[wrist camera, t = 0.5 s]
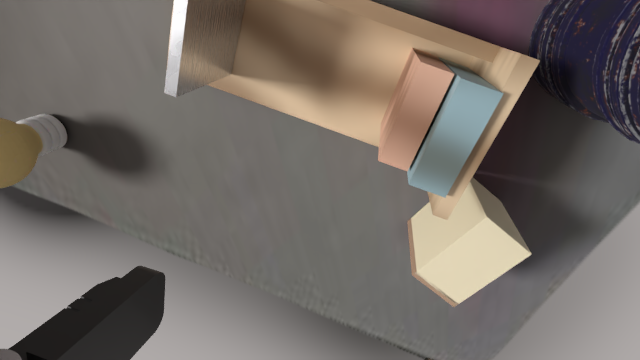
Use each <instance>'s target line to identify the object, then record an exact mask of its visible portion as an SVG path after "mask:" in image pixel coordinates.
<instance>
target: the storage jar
mask: <svg viewBox="0 0 640 360" xmlns="http://www.w3.org/2000/svg"><path fill="white" fill-rule="evenodd" d="M529 57H532V58H535V59H538V60H540V62H539V64H538V66H537V67H536V69H535V71H534V72H533V74H534V77H535V79H536V80H537V82H538V83H539V85H540V86H541V87H542V88H543V89H544V90H545V91H546V92H547V93H549V94H551V95H552V96H554V97H555V98H557V99H558V100H559V101H561V102H562V103H564V104H565V105H567V106H568V107H570V108H572V109H574V110H576V111H578V112H579V113H581V114H582V115H584V116H587V117H589V118H591V119H595V120H599V121H603V122H608V123H610V124H611V125H612V126H613V127H614V128H615V129H616V130H617V131H618V132H619V133H620V134H622V135H623V136H625V137H626V138H628V139H629V140H631V141H633V142H635V143H638V144H640V0H550V1H549V2H548V4H547V5H546V6H545V7H544V9H543V11H542V12H541V14H540V16H539V17H538V19H537V22H536V24H535V26H534V28H533V32H532V35H531V39H530V46H529Z"/></svg>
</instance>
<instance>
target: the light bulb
mask: <svg viewBox="0 0 640 360" xmlns="http://www.w3.org/2000/svg"><path fill="white" fill-rule="evenodd" d="M66 142H67V133H66V129H65V127H64V126H63V124H62V123H61V122H60V121H59V120H58V119H56V118H55V117H53V116H51V115H48V114H40V115H37V116H34V117H30V118H27V119H23V120H20V121H17V122H16V123H15V122H12V121H9V120H6V119H2V118H0V188H4V187H8V186H11V185H13V184H16V183H18V182H19V181H21V180H23V179H24V178H25V177H26V176H27V175H28V174H29V173H30V172H31V171H32V169H33V167H34V166H35V163H36V161H37V158H38V156H42V155H45V154H47V153H49V152H52V151H54V150H56V149H59V148H61V147H63V146H64V145H65V144H66Z"/></svg>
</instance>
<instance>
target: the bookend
mask: <svg viewBox="0 0 640 360" xmlns="http://www.w3.org/2000/svg"><path fill="white" fill-rule="evenodd" d="M244 6H245V0H174V6H173V16H172V25H171V35H170V44H169V54H168V63H167V73H166V82H165V92H164V93H166V94H169V95H172V96H175V97H177V96H180V95H182V94H185V93H187V92H190V91H192V90H195V89H197V88H199V87H202V86H204V85H207V84H209V83H212V82H214V81H217V80H219V79H221V78H224V77H226V76H229V75H231V74H232V69H233V63H234V58H235V53H236V48H237V42H238V37H239V32H240V27H241V21H242V16H243V11H244Z"/></svg>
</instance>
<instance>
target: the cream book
mask: <svg viewBox="0 0 640 360" xmlns="http://www.w3.org/2000/svg"><path fill="white" fill-rule="evenodd" d="M407 222H408V234H409V245H410V257H411V268H412V275H413V276H414V277H415V278H417V279H418V280H419V281H421V282H422V283H423V284H424V285H426V286H427V287H428V288H430V289H431V290H432V291H434V292H435V293H436V294H437V295H439V296H440V297H441V298H443V299H444V300H445V301H447V302H448V303H449V304H450V305H452V306H453V307H455V306H456V305H458V304H459V303H461V302H462V301H464V300H465V299H467V298H468V297H470V296H471V295H473V294H474V293H475V292H477V291H478V290H480V289H481V288H483V287H484V286H486V285H487V284H489V283H490V282H492V281H493V280H495V279H496V278H498V277H499V276H501V275H502V274H504V273H505V272H507V271H508V270H509V269H511V268H512V267H514V266H515V265H517V264H518V263H520V262H521V261H523V260H524V259H526V258H527V257H529V256H530V255H532V254H531V252H530V250H529V248H528V247H527V245H526V243H525V242H524V240H523V238H522V236H521V235H520V233H519V231H518V230H517V228H516V226H515V225H514V223H513V221H512V219H511V218H510V216H509V214H508V213H507V211H506V209H505V207H504V206H503V204H502V202H501V201H500V200H499V199H498V198H497V197H495V196H494V195H493V194H492V193H491V192H489V191H488V190H487V189H486V188H485V187H484V186H482V185H481V184H480V183H479V182H478V181H476V180H475V179H474V178H473V177H472V179H471V180H470V182H469V184H468V185H467V187H466V189H465V191H464V192H463V194H462V196H461V197H460V199H459V201H458V203H457V204H456V206H455V208H454V209H453V211H452V213H451V214H450V216H449V218H448V220H445V219H443V218H440V217H437V216H434V215H433V214H432V209H431V205H430V202H429V203H428V204H427V205H426V206H424V207H423V208H422V209H421V210H420V211H419V212H418V213H416V214H415V215H414V216H413V217H412V218H411V219H410V220H408V221H407Z"/></svg>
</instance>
